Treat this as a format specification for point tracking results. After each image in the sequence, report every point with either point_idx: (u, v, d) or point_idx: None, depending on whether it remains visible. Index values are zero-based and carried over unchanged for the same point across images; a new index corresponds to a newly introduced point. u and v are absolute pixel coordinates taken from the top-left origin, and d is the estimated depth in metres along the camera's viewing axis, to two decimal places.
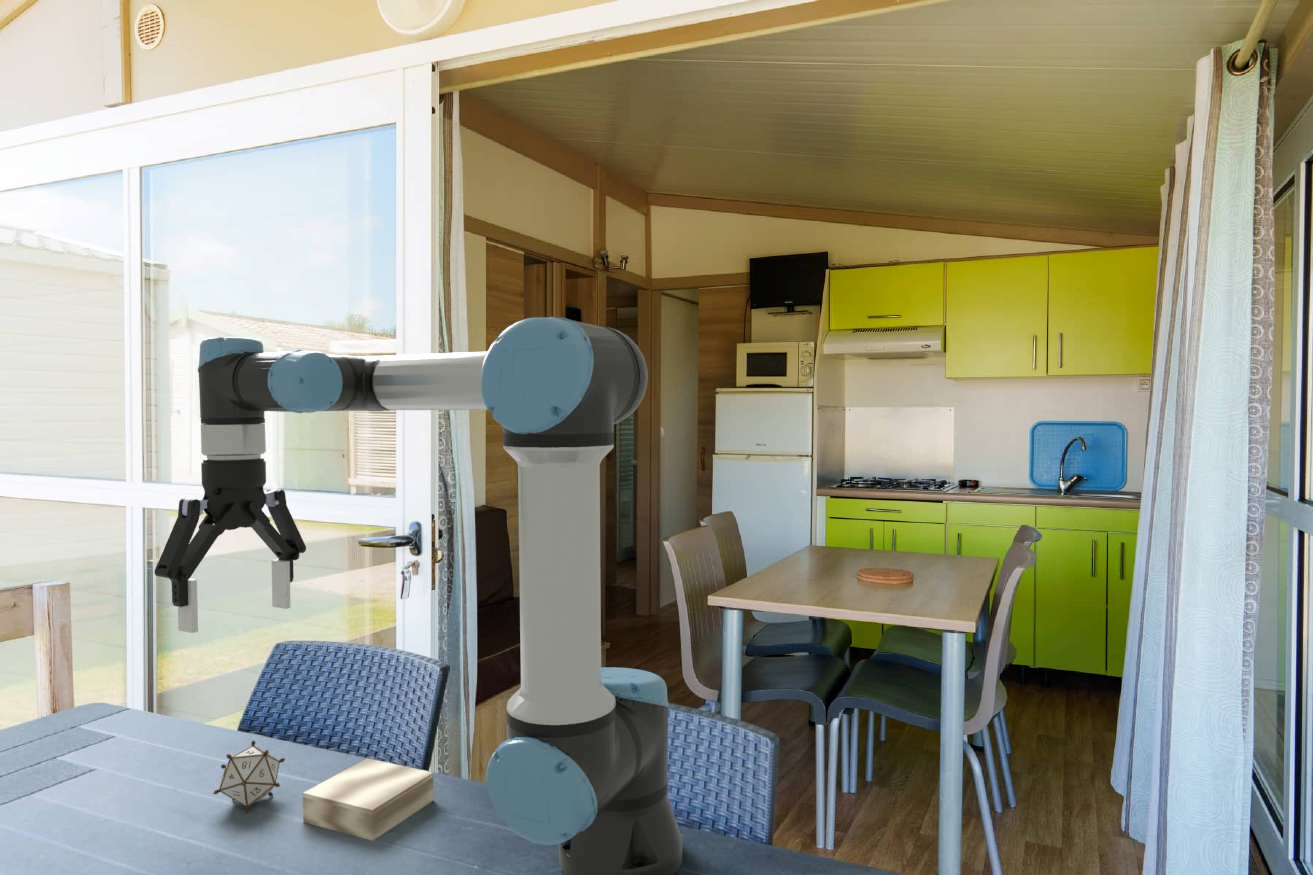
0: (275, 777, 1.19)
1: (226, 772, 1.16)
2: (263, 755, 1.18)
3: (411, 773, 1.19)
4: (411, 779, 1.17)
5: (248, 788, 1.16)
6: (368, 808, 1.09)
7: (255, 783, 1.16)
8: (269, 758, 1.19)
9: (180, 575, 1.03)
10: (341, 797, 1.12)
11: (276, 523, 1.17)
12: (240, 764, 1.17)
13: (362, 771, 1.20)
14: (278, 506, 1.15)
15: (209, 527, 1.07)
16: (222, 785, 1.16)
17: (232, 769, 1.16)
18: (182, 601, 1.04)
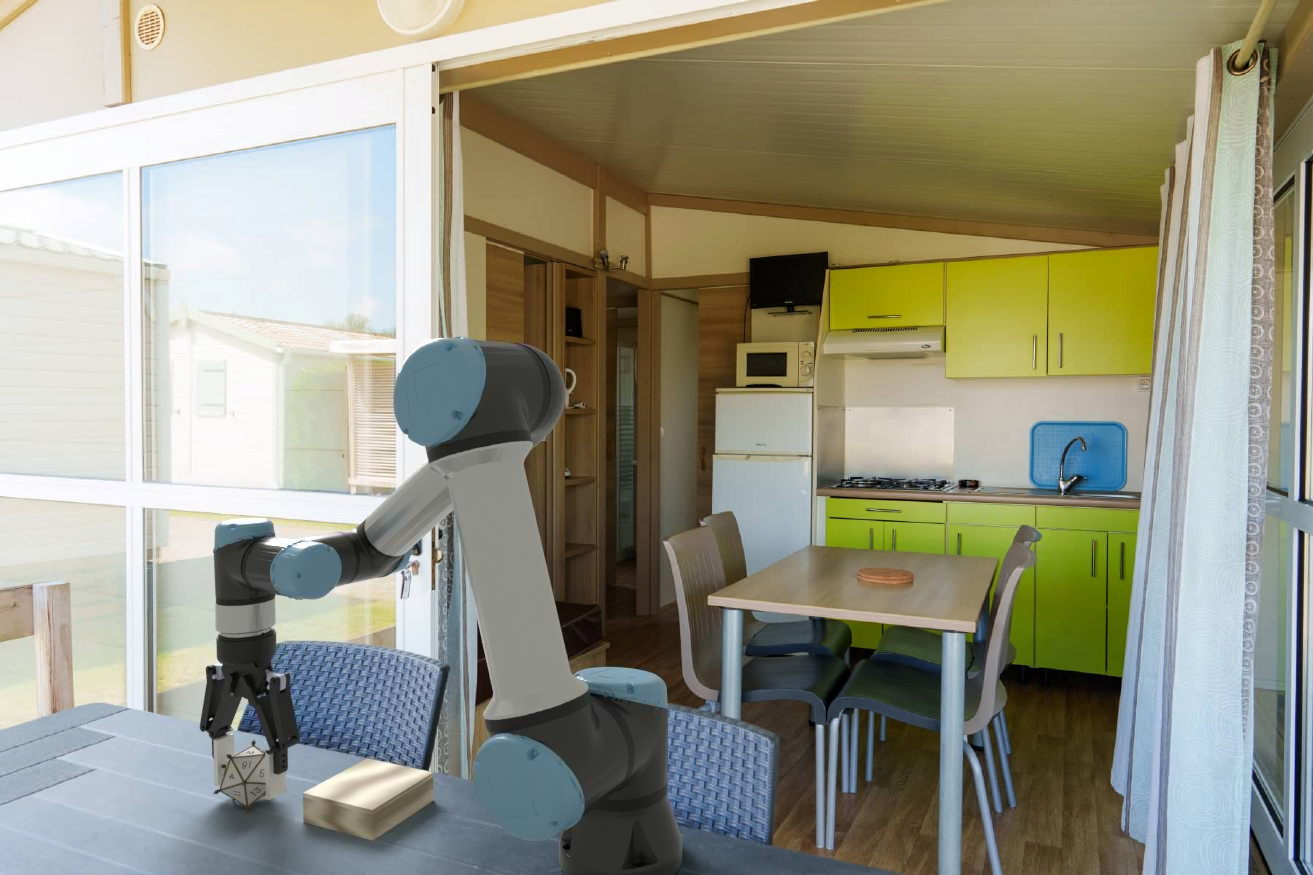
0: None
1: (226, 772, 1.16)
2: (263, 755, 1.18)
3: (411, 773, 1.19)
4: (411, 779, 1.17)
5: (248, 788, 1.16)
6: (368, 808, 1.09)
7: (256, 782, 1.16)
8: None
9: None
10: (341, 797, 1.12)
11: None
12: (240, 764, 1.17)
13: (362, 771, 1.20)
14: None
15: None
16: (222, 785, 1.16)
17: (232, 769, 1.16)
18: (214, 754, 1.21)
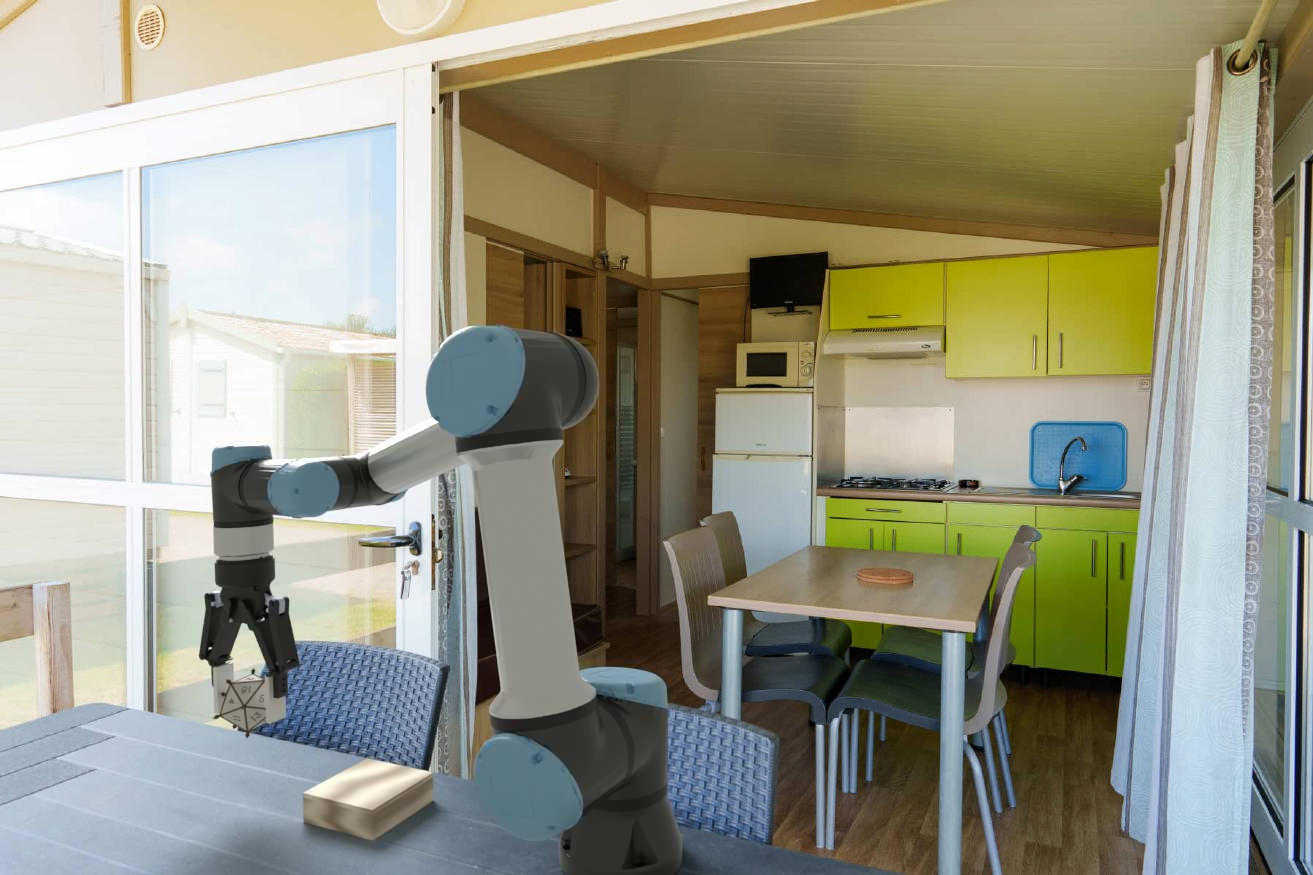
0: None
1: (226, 697, 1.16)
2: (263, 681, 1.17)
3: (411, 773, 1.19)
4: (411, 779, 1.17)
5: (248, 712, 1.15)
6: (368, 808, 1.09)
7: (255, 707, 1.15)
8: None
9: None
10: (341, 797, 1.12)
11: None
12: (240, 689, 1.16)
13: (362, 771, 1.20)
14: None
15: None
16: (222, 710, 1.15)
17: (232, 694, 1.16)
18: None
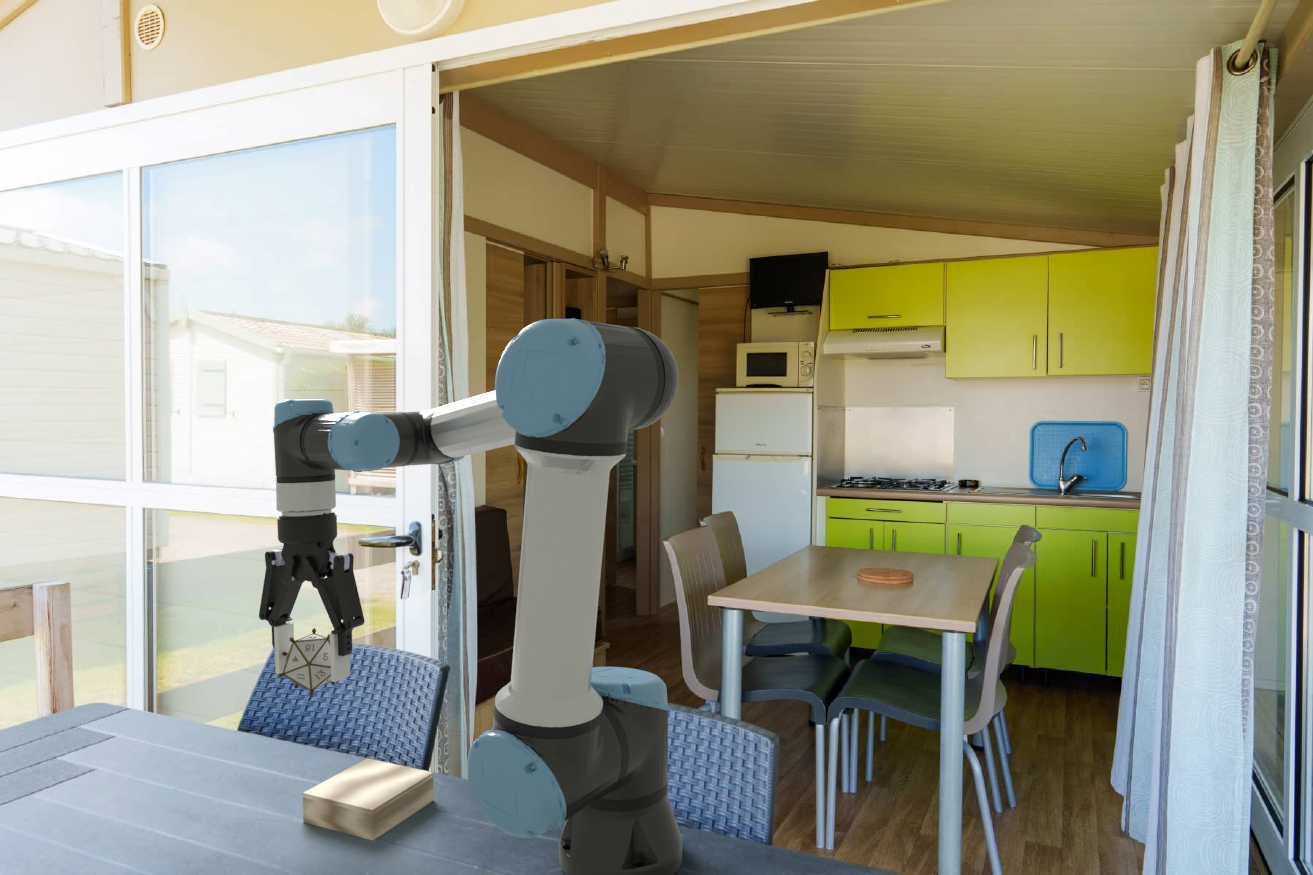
0: None
1: (289, 656, 1.14)
2: (326, 639, 1.16)
3: (411, 773, 1.19)
4: (411, 779, 1.17)
5: (312, 670, 1.13)
6: (368, 808, 1.09)
7: (320, 665, 1.14)
8: None
9: None
10: (341, 797, 1.12)
11: None
12: (303, 647, 1.14)
13: (362, 771, 1.20)
14: None
15: None
16: (286, 668, 1.14)
17: (296, 652, 1.14)
18: (274, 643, 1.18)
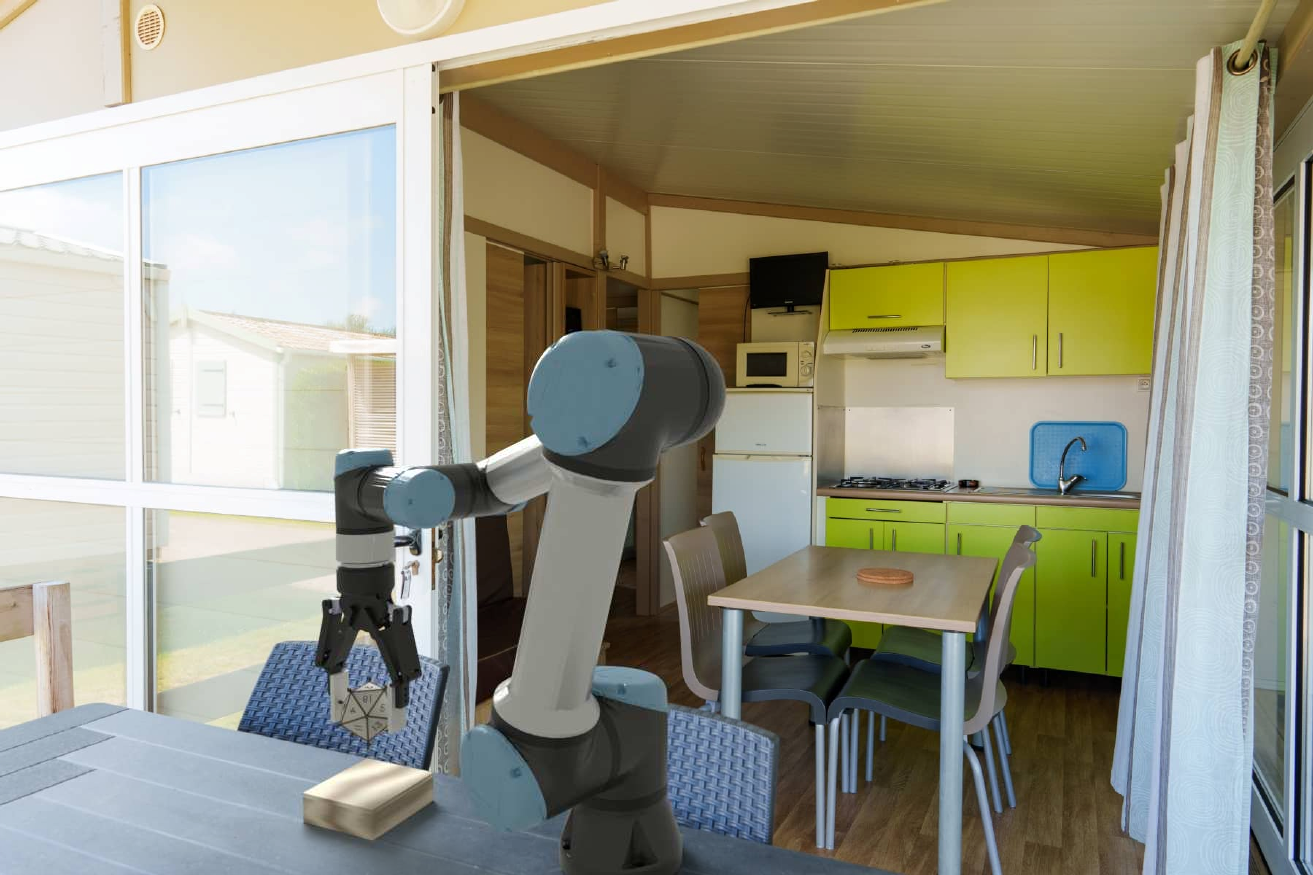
0: None
1: (347, 706, 1.14)
2: (383, 689, 1.15)
3: (411, 773, 1.19)
4: (411, 779, 1.17)
5: (370, 722, 1.13)
6: (368, 808, 1.09)
7: (377, 717, 1.13)
8: None
9: None
10: (341, 797, 1.12)
11: None
12: (361, 698, 1.14)
13: (362, 771, 1.20)
14: None
15: None
16: (343, 719, 1.13)
17: (353, 703, 1.13)
18: (329, 691, 1.18)
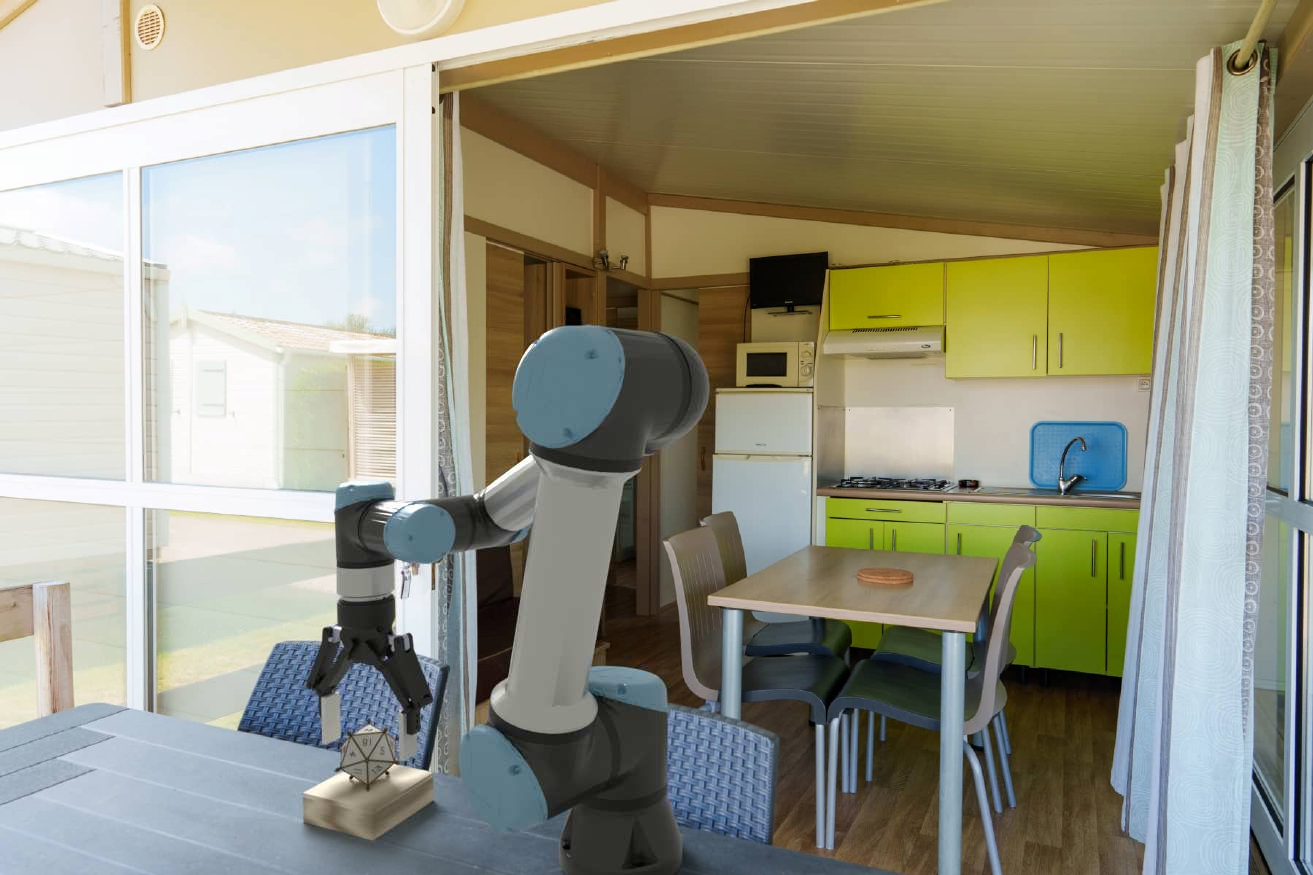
0: (394, 755, 1.16)
1: (346, 750, 1.14)
2: (383, 732, 1.15)
3: (411, 773, 1.19)
4: (411, 779, 1.17)
5: (370, 766, 1.13)
6: (368, 808, 1.09)
7: (377, 760, 1.14)
8: (388, 736, 1.17)
9: None
10: (341, 797, 1.12)
11: None
12: (361, 741, 1.14)
13: None
14: None
15: None
16: (343, 763, 1.14)
17: (353, 747, 1.14)
18: (321, 712, 1.19)
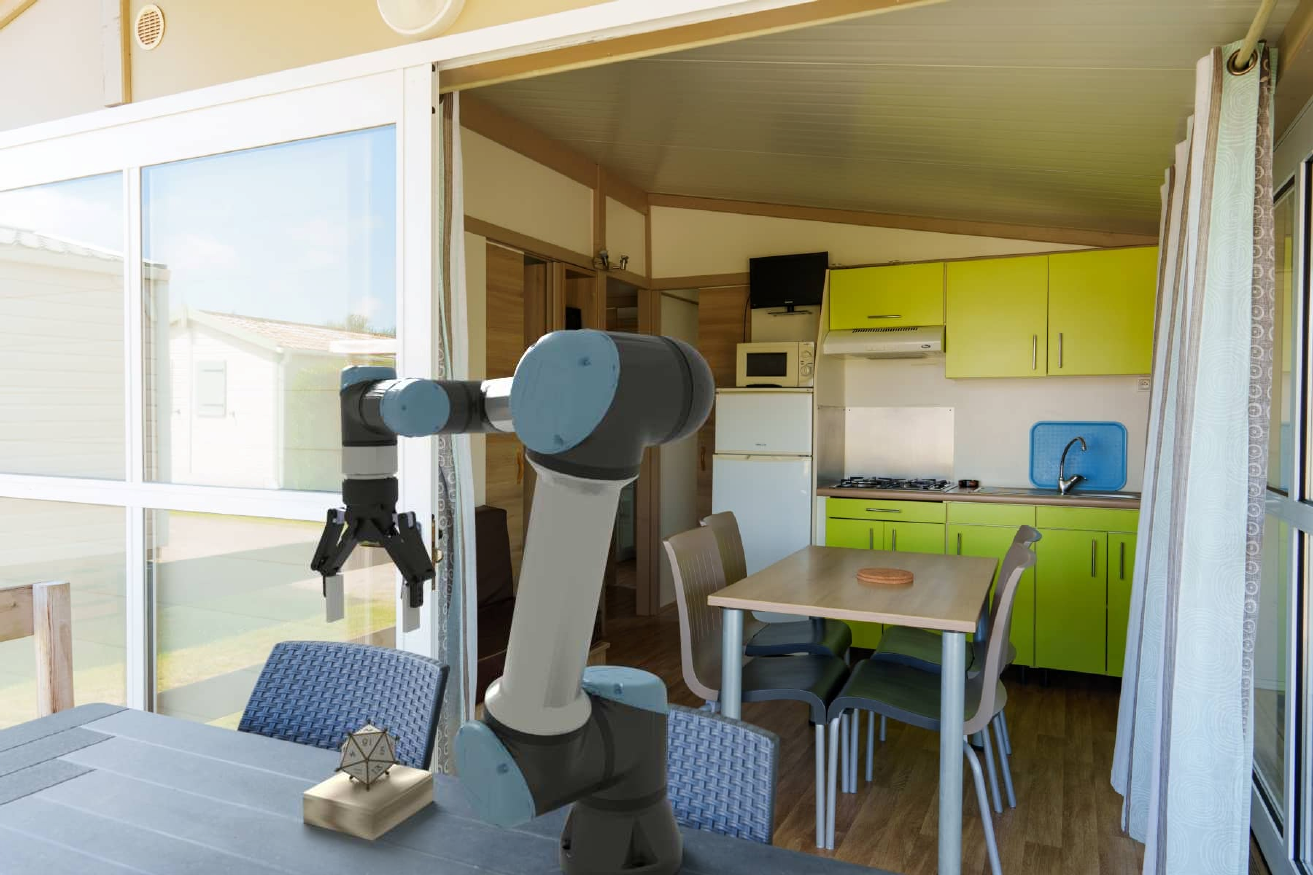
0: (394, 755, 1.16)
1: (346, 750, 1.14)
2: (383, 732, 1.15)
3: (411, 773, 1.19)
4: (411, 779, 1.17)
5: (370, 766, 1.13)
6: (368, 808, 1.09)
7: (377, 760, 1.14)
8: (388, 736, 1.17)
9: None
10: (341, 797, 1.12)
11: None
12: (361, 741, 1.14)
13: None
14: None
15: None
16: (343, 763, 1.14)
17: (353, 747, 1.14)
18: (325, 593, 1.23)
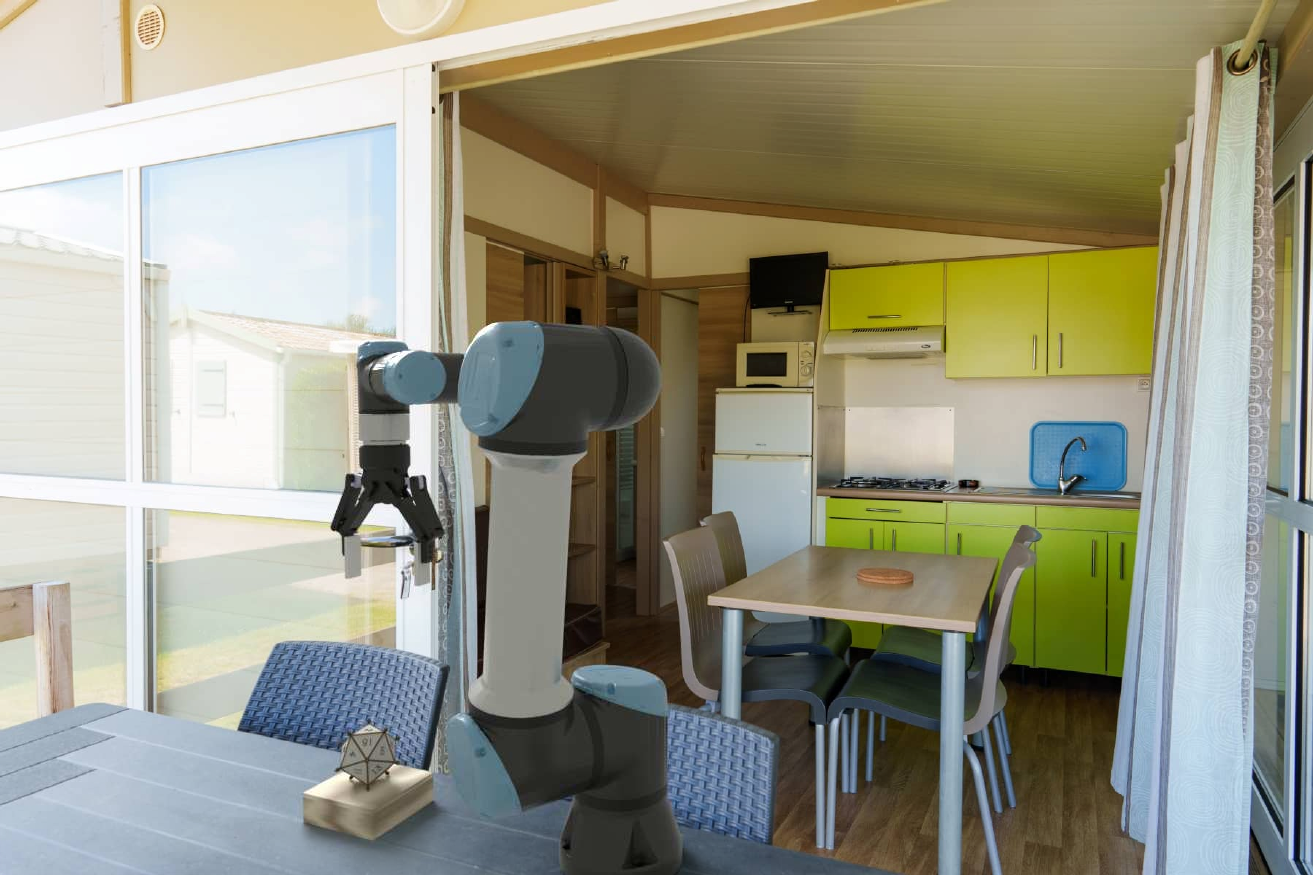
0: (394, 755, 1.16)
1: (346, 750, 1.14)
2: (383, 732, 1.15)
3: (411, 773, 1.19)
4: (411, 779, 1.17)
5: (370, 766, 1.13)
6: (368, 808, 1.09)
7: (377, 760, 1.14)
8: (388, 736, 1.17)
9: None
10: (341, 797, 1.12)
11: None
12: (361, 741, 1.14)
13: None
14: (411, 490, 1.27)
15: None
16: (343, 763, 1.14)
17: (353, 747, 1.14)
18: (343, 551, 1.33)
